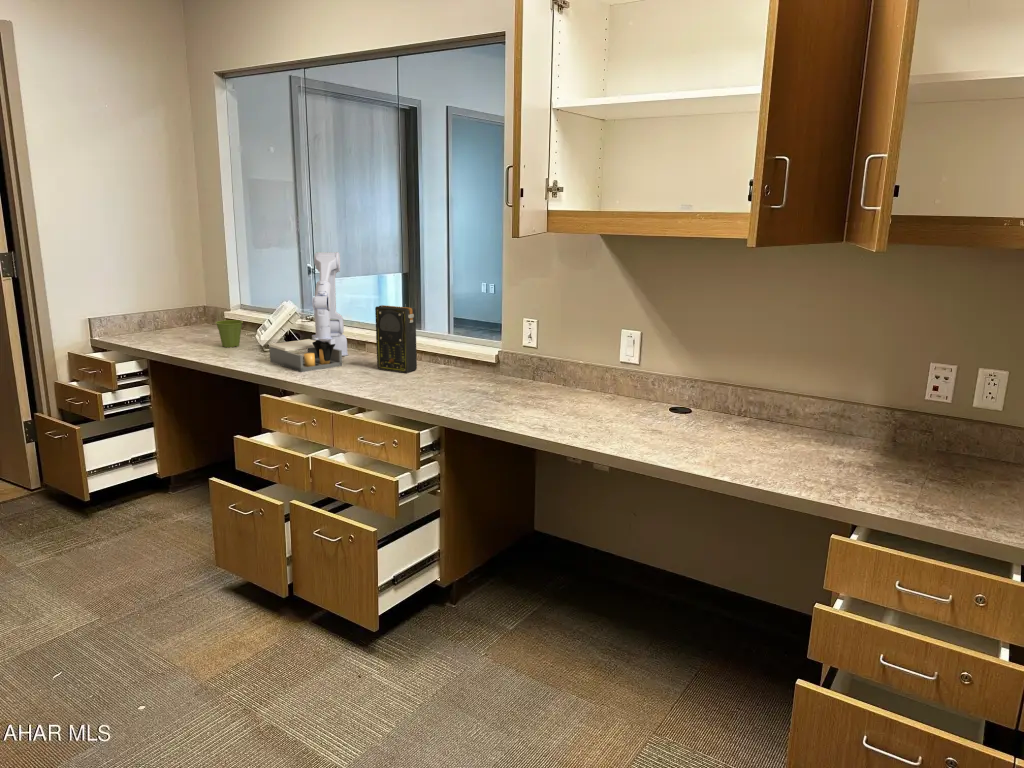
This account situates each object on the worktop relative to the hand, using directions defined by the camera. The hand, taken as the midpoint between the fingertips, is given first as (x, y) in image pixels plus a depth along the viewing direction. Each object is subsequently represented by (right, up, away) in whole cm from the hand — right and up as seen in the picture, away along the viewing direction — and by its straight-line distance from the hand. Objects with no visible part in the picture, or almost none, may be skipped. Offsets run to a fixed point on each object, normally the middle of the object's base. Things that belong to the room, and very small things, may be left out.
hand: (324, 359), depth 290 cm
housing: (-9, -1, +5) cm, 10 cm away
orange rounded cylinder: (-5, -4, -4) cm, 7 cm away
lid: (-13, +5, +8) cm, 16 cm away
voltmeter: (+30, -4, -4) cm, 30 cm away
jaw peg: (0, -2, 0) cm, 2 cm away
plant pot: (-53, +7, +42) cm, 68 cm away
